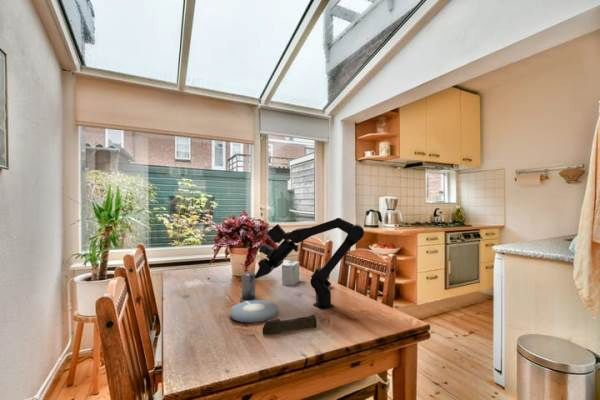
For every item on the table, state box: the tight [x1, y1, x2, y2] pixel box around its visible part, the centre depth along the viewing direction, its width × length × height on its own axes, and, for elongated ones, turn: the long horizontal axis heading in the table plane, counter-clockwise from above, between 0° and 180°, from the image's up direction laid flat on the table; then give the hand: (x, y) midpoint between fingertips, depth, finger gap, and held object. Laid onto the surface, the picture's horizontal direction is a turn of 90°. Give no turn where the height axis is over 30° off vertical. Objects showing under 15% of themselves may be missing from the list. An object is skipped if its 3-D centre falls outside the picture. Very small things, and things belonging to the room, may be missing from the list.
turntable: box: [230, 299, 278, 323], centre depth 111 cm, size 18×18×2 cm
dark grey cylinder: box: [239, 271, 258, 303], centre depth 127 cm, size 8×8×12 cm
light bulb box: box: [281, 260, 301, 287], centre depth 155 cm, size 11×7×11 cm, turn 161°
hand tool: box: [261, 314, 318, 336], centre depth 97 cm, size 19×4×5 cm, turn 107°
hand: (259, 275), depth 126 cm, fingers open, 9 cm apart
